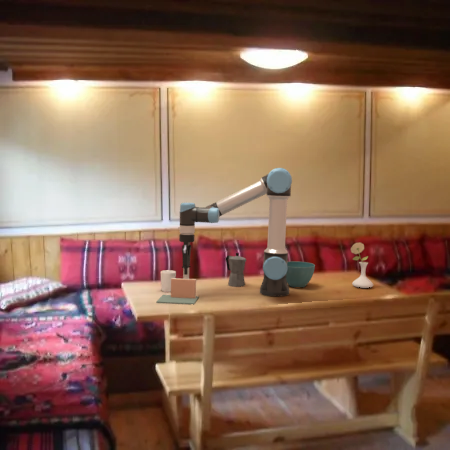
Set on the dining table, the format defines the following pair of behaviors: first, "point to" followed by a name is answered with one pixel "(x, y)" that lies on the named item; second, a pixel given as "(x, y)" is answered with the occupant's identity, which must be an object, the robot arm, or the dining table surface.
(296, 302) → the dining table surface
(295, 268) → the teal bowl
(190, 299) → the mat
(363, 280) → the flower in vase
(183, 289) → the plaque
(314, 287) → the dining table surface
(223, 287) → the dining table surface
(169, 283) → the white cup
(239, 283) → the coffeepot
